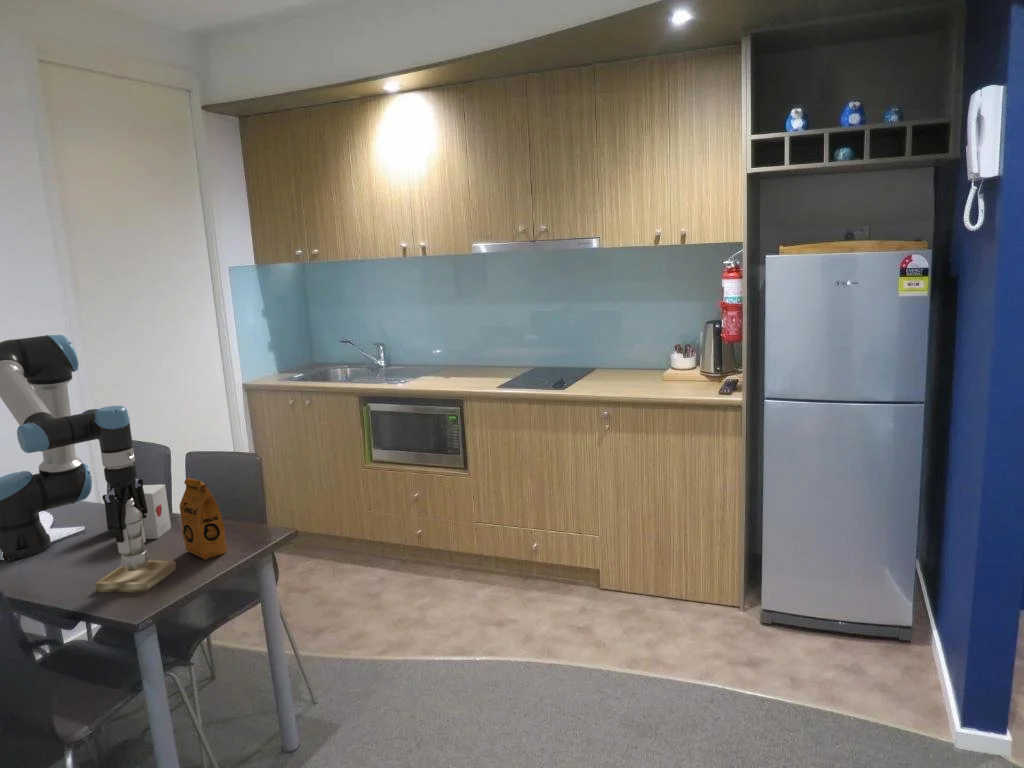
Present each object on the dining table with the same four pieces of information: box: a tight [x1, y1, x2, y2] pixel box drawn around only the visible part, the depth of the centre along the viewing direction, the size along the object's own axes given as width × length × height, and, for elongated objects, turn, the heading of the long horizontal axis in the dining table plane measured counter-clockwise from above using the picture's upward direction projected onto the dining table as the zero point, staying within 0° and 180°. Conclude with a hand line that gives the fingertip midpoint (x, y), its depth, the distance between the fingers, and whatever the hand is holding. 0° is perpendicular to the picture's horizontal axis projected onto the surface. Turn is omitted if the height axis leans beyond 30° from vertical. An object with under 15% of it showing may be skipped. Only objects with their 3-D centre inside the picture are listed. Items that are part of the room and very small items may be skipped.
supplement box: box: [137, 484, 172, 540], centre depth 228 cm, size 9×9×15 cm
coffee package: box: [179, 477, 228, 561], centre depth 212 cm, size 10×12×22 cm
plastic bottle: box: [118, 497, 149, 571], centre depth 195 cm, size 6×7×20 cm
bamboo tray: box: [94, 559, 177, 594], centre depth 197 cm, size 14×14×2 cm
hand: (132, 547), depth 196 cm, fingers closed on plastic bottle, 6 cm apart
